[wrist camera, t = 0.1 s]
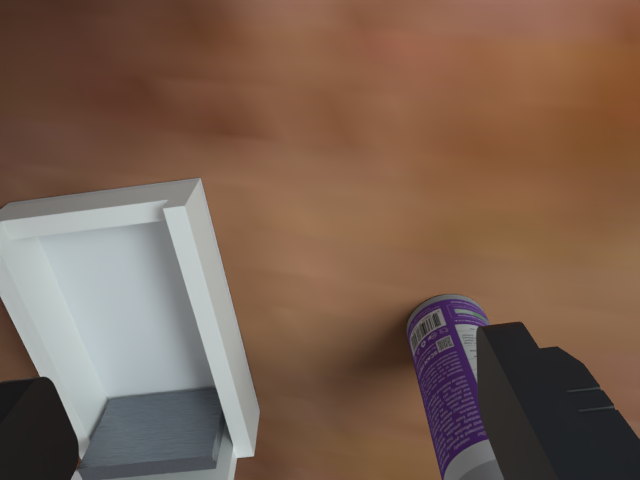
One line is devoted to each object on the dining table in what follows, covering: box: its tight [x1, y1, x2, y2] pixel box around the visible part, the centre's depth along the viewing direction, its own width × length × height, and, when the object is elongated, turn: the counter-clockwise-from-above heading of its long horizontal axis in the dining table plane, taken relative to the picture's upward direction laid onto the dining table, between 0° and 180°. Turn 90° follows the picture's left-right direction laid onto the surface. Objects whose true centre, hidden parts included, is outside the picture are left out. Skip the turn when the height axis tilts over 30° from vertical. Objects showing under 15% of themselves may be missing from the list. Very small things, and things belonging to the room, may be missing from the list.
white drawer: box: [0, 178, 260, 480], centre depth 27 cm, size 16×10×6 cm, turn 8°
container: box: [407, 294, 504, 480], centre depth 24 cm, size 5×5×15 cm
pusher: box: [77, 388, 226, 480], centre depth 30 cm, size 1×7×5 cm, turn 98°
